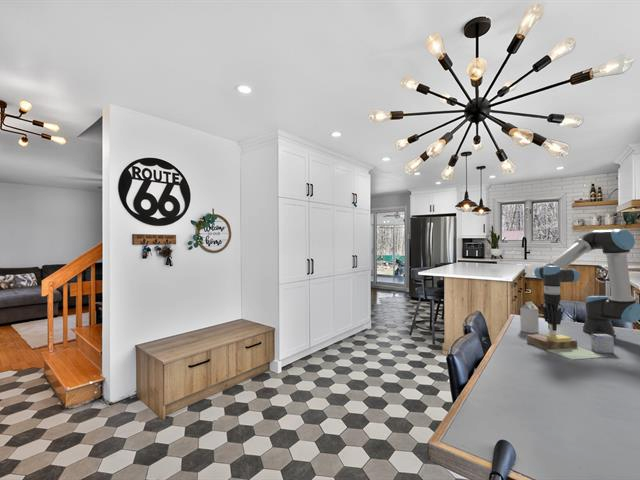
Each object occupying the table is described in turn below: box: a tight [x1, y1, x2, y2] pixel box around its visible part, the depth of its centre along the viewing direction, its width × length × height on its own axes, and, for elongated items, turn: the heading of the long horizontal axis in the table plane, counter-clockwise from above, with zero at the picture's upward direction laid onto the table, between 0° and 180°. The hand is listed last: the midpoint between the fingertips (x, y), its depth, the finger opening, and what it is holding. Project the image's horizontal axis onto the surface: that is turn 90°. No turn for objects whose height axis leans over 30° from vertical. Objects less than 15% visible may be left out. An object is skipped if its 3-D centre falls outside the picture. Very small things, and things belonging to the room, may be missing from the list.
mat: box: [546, 346, 607, 361], centre depth 161 cm, size 20×14×1 cm
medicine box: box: [590, 334, 615, 354], centre depth 164 cm, size 8×4×9 cm, turn 84°
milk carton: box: [519, 301, 540, 334], centre depth 201 cm, size 7×7×19 cm
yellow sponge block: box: [547, 334, 572, 342], centre depth 171 cm, size 9×6×2 cm, turn 99°
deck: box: [526, 333, 578, 351], centre depth 175 cm, size 18×14×4 cm
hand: (552, 335), depth 174 cm, fingers closed
